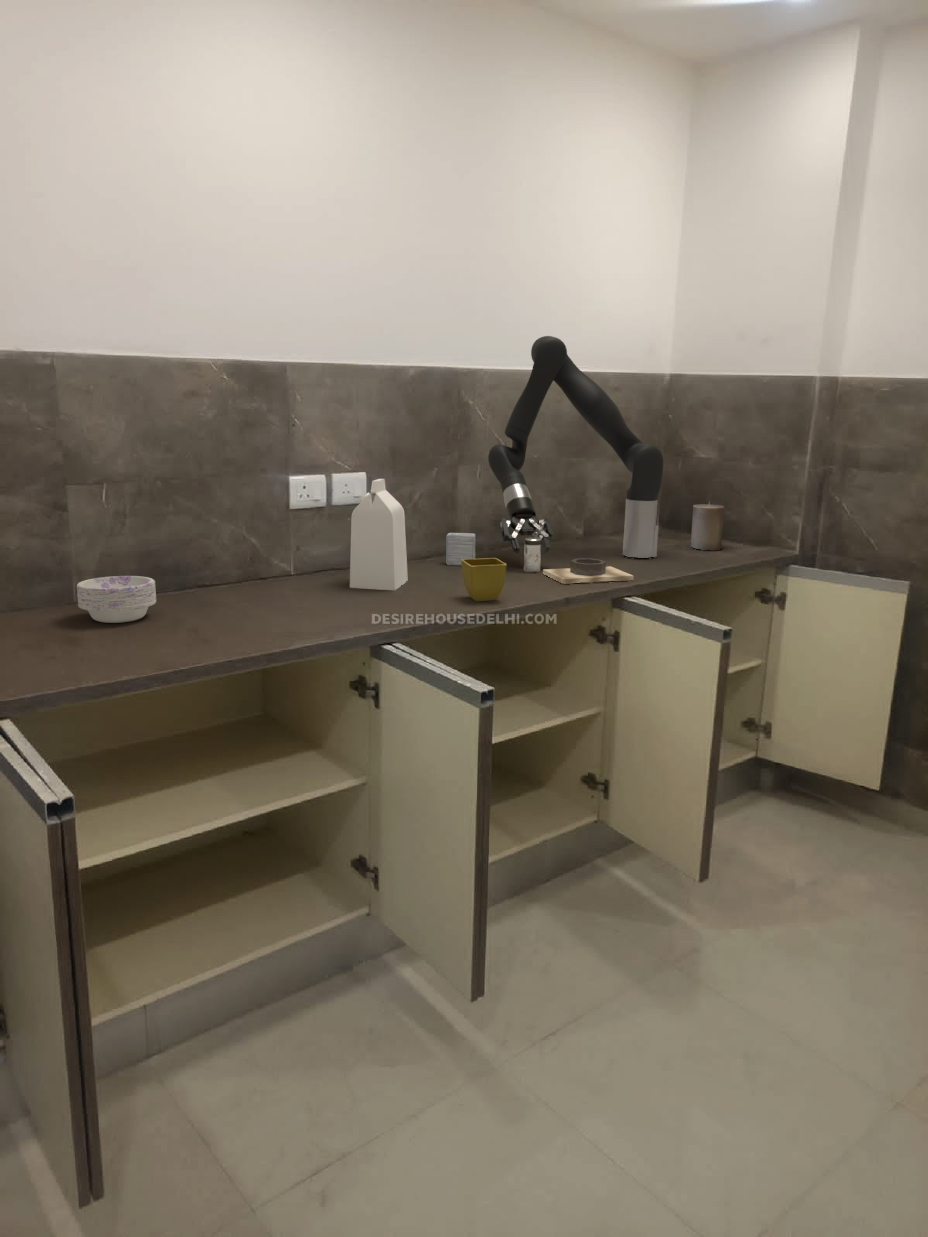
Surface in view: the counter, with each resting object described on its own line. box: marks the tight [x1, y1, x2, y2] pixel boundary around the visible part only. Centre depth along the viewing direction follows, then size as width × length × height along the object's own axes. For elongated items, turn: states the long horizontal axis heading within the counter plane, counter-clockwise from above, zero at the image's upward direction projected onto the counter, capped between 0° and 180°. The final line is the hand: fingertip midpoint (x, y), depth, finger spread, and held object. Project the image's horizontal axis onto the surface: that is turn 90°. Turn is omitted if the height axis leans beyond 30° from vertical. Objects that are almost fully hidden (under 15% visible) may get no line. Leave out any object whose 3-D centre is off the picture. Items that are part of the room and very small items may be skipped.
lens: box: [523, 536, 542, 572], centre depth 240 cm, size 5×5×9 cm
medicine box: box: [445, 532, 476, 566], centre depth 248 cm, size 8×4×9 cm, turn 84°
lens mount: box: [542, 557, 634, 584], centre depth 233 cm, size 20×13×4 cm, turn 108°
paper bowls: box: [76, 575, 157, 624], centre depth 183 cm, size 15×15×8 cm
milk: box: [349, 478, 409, 591], centre depth 218 cm, size 12×12×26 cm
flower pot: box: [461, 557, 508, 602], centre depth 206 cm, size 9×9×9 cm
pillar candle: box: [690, 501, 725, 552], centre depth 281 cm, size 10×10×15 cm
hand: (532, 551), depth 239 cm, fingers open, 8 cm apart
